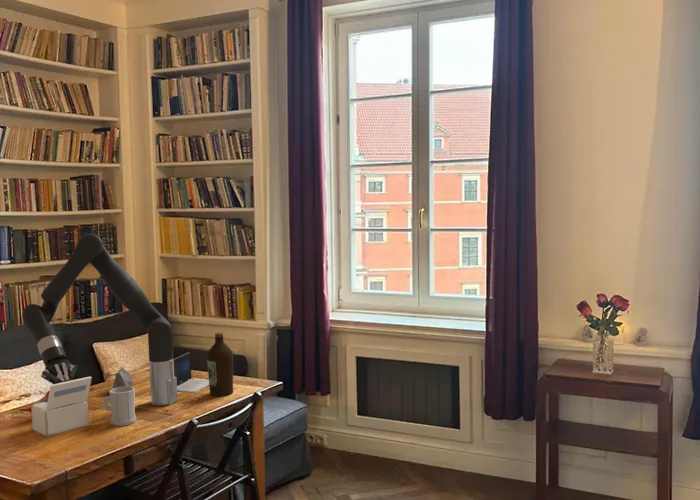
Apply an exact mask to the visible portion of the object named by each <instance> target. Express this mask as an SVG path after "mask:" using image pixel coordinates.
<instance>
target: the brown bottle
mask: <svg viewBox="0 0 700 500" xmlns="http://www.w3.org/2000/svg"><path fill="white" fill-rule="evenodd" d="M214 336H215V337H214V343H213V345H212V346H211V347H210V349H208V351H207V354H206V364H207V375H208V380H209V385H208V386H209V394H210V396H212V397H226V396H229V395H232V394H233V393H234V354H233V351H232V349H231V348H230V347H229V345H227V344H226V343H225V342H224V332H216V333H214Z"/></svg>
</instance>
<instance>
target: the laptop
mask: <svg viewBox="0 0 700 500" xmlns="http://www.w3.org/2000/svg"><path fill="white" fill-rule="evenodd" d="M191 354H192V353H191V352H190V351H189V352H187V353H184V354H182V355H180V356H178V357H176V358H173V361H174V377H176V378H177V393H178V392H180V393H197V392H199V391H201V390H202V389H204V388H206V387H208V386H209V379H198V378H197V379H196V378H195V379H194V378H192V361H191V358H192V357H191Z"/></svg>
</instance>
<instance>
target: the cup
mask: <svg viewBox="0 0 700 500" xmlns="http://www.w3.org/2000/svg"><path fill="white" fill-rule="evenodd" d="M135 392H136V388H135V387H134V386H130V387H128V386H127V387H118V388H114V389H113V388H112V389H110V390H109V391H108V393H109V395H108V396H106V397H104V398H103V404H104V405H103V407H104V409H105V410H106V411H109V412H111V419H110V425H113V426H117V427H124V426H129V425H133V424H135V422H136V421H137V415H136V412H135V410H136V409H135V401H136V398H135V395H136V393H135ZM109 401H110V404H109Z"/></svg>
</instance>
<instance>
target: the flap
mask: <svg viewBox="0 0 700 500" xmlns="http://www.w3.org/2000/svg"><path fill="white" fill-rule="evenodd" d="M91 384H92V376H87V377H82V378H77V379H72V381H67V382H62V383H58V384H50V386H49V390H50V391H49V390H48V391H49V396H48V402H47V407H46V408H47V409H51V408H55V407H60V406H64V405H68V404H72V403H76V402H80V401H84V400H85V401H88V396H89V392H90V387H91Z"/></svg>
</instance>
